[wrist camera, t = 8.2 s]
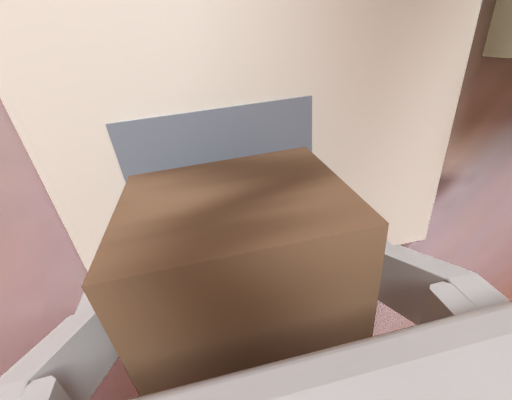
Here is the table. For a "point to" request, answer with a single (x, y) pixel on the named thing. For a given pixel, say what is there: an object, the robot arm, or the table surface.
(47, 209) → the table surface
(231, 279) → the walnut cube
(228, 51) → the white flat board
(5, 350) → the table surface
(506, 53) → the sage cube
